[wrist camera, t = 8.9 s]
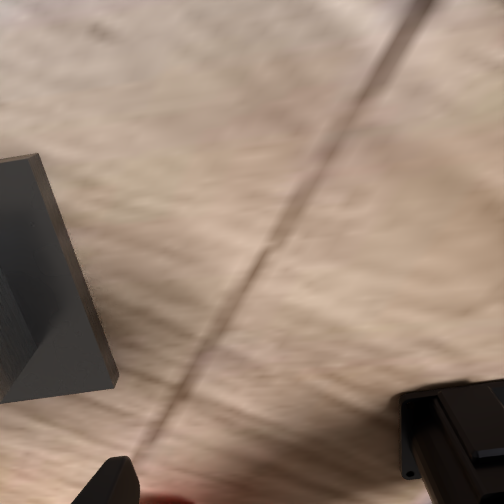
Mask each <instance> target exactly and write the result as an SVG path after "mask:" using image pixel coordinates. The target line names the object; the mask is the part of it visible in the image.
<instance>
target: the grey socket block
mask: <svg viewBox="0 0 504 504" xmlns="http://www.w3.org/2000/svg"><path fill="white" fill-rule="evenodd" d="M0 267H1V269H2V271H3V273H4V275H5V278H6V280H7V282H8V284H9V287H10V289H11V291H12V293H13V295H14V298H15V300H16V302H17V304H18V306H19V309H20V311H21V313H22V315H23V318H24V320H25V322H26V324H27V326H28V329H29V331H30V333H31V335H32V338H33V340H34V342H35V344H36V346H37V350H36V352H35V353H34V355H33V356H32V357H31V359H30V360H29V362H28V363H27V365H26V366H25V368H24V369H23V371H22V372H21V373H20V375H19V376H18V378H17V379H16V381H15V382H14V384H13V385H12V387H11V388H10V390H9V391H8V392H7V394H6V395H5V397H4V398H3V400H2V401H1V403H0V404H3V403H10V402H17V401H25V400H32V399H39V398H47V397H54V396H61V395H69V394H76V393H84V392H91V391H98V390H106V389H113V388H115V385H116V383H117V380H118V377H119V373H118V370H117V367H116V365H115V362H114V359H113V356H112V354H111V351H110V348H109V345H108V343H107V340H106V337H105V334H104V332H103V329H102V326H101V324H100V321H99V318H98V315H97V313H96V310H95V307H94V304H93V302H92V299H91V296H90V293H89V291H88V288H87V285H86V282H85V280H84V277H83V274H82V271H81V269H80V266H79V263H78V260H77V258H76V255H75V252H74V250H73V247H72V244H71V241H70V239H69V236H68V233H67V230H66V228H65V225H64V222H63V219H62V217H61V214H60V211H59V208H58V206H57V203H56V200H55V197H54V195H53V192H52V189H51V186H50V184H49V181H48V178H47V176H46V173H45V170H44V167H43V165H42V162H41V159H40V156H39V154H38V153H36V154H30V155H24V156H17V157H11V158H5V159H0Z"/></svg>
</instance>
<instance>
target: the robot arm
mask: <svg viewBox="0 0 504 504" xmlns="http://www.w3.org/2000/svg"><path fill="white" fill-rule="evenodd" d="M409 402H411V403H409ZM407 403H408V404H407ZM399 452H400V471H401V474H402V477H403V478H404V479H407V480H412V479H420V478H422V479H423V482H424V484H425V487H426V489H427V492H428V494H429V496H430V499H431V501H432V504H504V381H499V382H491V383H483V384H476V385H468V386H460V387H453V388H445V389H437V390H430V391H422V392H415V393H407V394H404V395H402V396H401V397H400V398H399ZM139 498H140V484H139V480H138V477H137V475H136V472H135V470H134V467H133V464H132V462H131V460H130V458H129V457H128V456H119V457H112V458H109V459H108V460H107V461H106V462H105V463H104V464H103V465H102V466H101V468H100V469H99V470H98V471H97V473H96V474H95V475H94V476H93V477H92V479H91V480H90V481H89V482H88V483H87V485H86V486H85V487H84V488H83V490H82V491H81V492H80V493H79V494H78V496H77V497H76V498H75V499H74V501H73V502H72V503H71V504H139Z"/></svg>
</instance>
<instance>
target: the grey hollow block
mask: <svg viewBox="0 0 504 504" xmlns="http://www.w3.org/2000/svg"><path fill="white" fill-rule="evenodd" d="M36 350H37V346H36V344H35V342H34V340H33V338H32V335H31V333H30V331H29V329H28V326H27V324H26V322H25V320H24V318H23V315H22V313H21V311H20V309H19V306H18V304H17V302H16V300H15V298H14V295H13V293H12V291H11V289H10V287H9V284H8V282H7V280H6V278H5V275H4V273H3V271H2V269H1V267H0V403H1V401H2V400H3V398H4V397H5V395H6V394H7V392H8V391H9V390H10V388H11V387H12V385H13V384H14V382H15V381H16V379H17V378H18V376H19V375H20V373H21V372H22V371H23V369H24V368H25V366H26V365H27V363H28V362H29V360H30V359H31V357H32V356H33V355H34V353H35V352H36Z"/></svg>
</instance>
